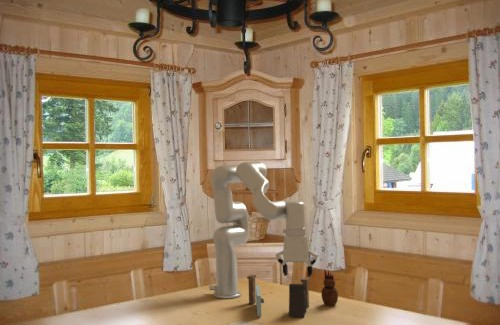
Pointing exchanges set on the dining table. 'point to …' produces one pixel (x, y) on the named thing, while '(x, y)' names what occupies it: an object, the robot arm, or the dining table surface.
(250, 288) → the brown gate posts
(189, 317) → the dining table surface
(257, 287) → the door
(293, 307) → the door stopper
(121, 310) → the dining table surface
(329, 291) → the wooden figurine
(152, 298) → the dining table surface
